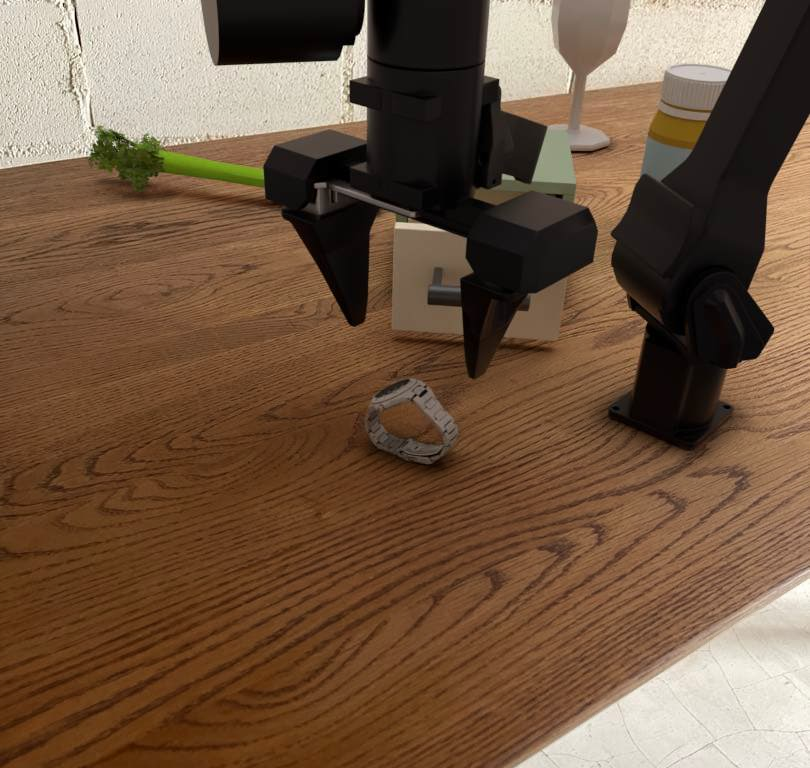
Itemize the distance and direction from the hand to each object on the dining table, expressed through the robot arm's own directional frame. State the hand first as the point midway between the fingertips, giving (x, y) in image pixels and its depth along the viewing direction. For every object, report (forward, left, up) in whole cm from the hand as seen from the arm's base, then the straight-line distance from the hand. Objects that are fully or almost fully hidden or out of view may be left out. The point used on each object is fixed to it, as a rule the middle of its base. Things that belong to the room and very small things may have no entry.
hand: (414, 349), depth 54 cm
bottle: (+43, +5, -8) cm, 44 cm away
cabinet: (+27, +15, -7) cm, 32 cm away
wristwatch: (0, 0, -8) cm, 8 cm away
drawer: (+17, +8, -6) cm, 20 cm away
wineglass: (+64, +29, -8) cm, 71 cm away
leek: (+23, +43, -8) cm, 49 cm away
